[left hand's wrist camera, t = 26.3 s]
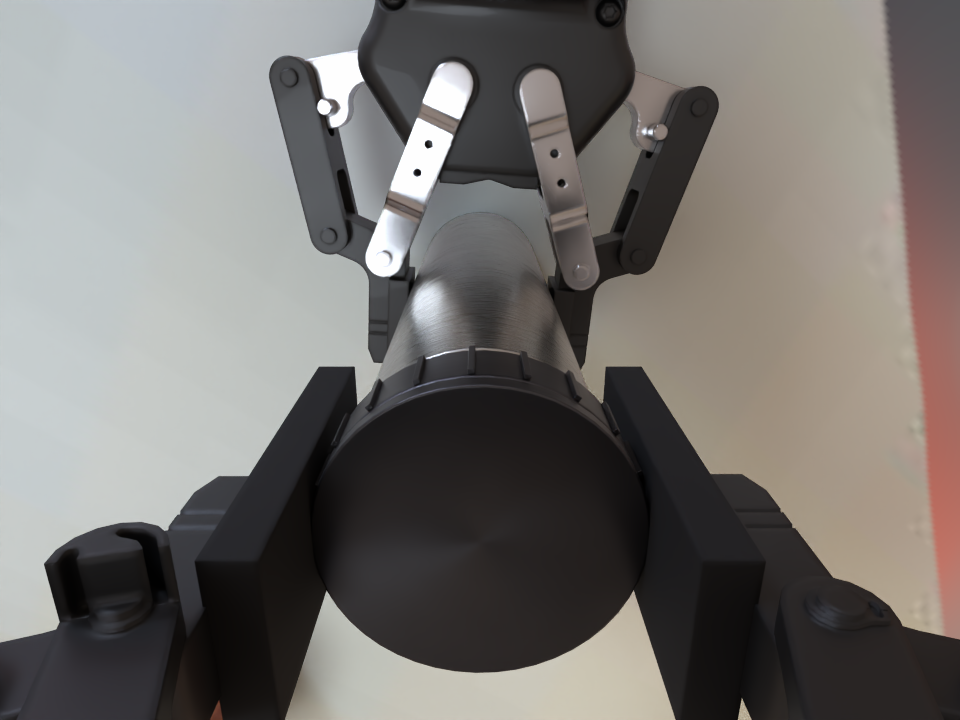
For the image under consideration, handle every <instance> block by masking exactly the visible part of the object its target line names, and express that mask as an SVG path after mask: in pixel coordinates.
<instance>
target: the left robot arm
mask: <svg viewBox="0 0 960 720" xmlns="http://www.w3.org/2000/svg"><path fill="white" fill-rule="evenodd" d="M605 401H606V403H607V404H608V405H609V407H610V410H611V412H612V414H613V416H614V419H615V421H616V423H617V425H618V428H619V430H620V432H621V433H620V435H621V437H622V439H623V442H624V441H627V440H628V441H629V444H630V446H631V448H632V450H633V452H634V455H635V457H636V459H637V461H638V463H639V466H640V468H641V470H642V473H643V476H642V477H639V478H640V481H641V483H642V485H643V488H644V491H645V495H646V499H647V503H648V507H649V518H650V528H649V538H648V548H647V556H646V561H645V565H644V568H643V570H642V573H641V575H640V578H639V581H638V583H637V585H636V586H635V588H634V592H635V595H636V598H637V601H638V604H639V608H640V611H641V614H642V617H643V620H644V623H645V626H646V629H647V632H648V635H649V638H650V642H651V645H652V648H653V651H654V654H655V657H656V660H657V663H658V666H659V669H660V672H661V676H662V679H663V682H664V685H665V688H666V691H667V694H668V697H669V700H670V703H671V707H672V710H673V713H674V716H675V719H676V720H738V715H739V710H740V704H741V699H743V701H744V703H745V706H746V708H747V710H748V712H749V715H750V717H751V719H752V720H960V640H959V639H954V638H950V637H945V636H940V635H936V634H931V633H927V632H922V631H918V630H914V629H911V628H907V627H904V626H902V624H901V621H900V620H899V619H898V617H897V616H896V615H895V613H894V612H893V610H892V609H891V608H890V606H889V605H887V604H886V603H885V602H883V601H882V600H881V599H879V598H878V597H877V596H875V595H874V594H873V593H871V592H869V591H867V590H865V589H863V588H861V587H859V586H857V585H855V584H853V583H850V582H847V581H843V580H839V579H835V578H833V577H832V576H831V574H830V573H829V572H828V570H827V569H826V568H825V567H824V565H823V564H822V563H821V561H820V560H819V559H818V557H817V556H816V555H815V553H814V552H813V551H812V550H811V548H810V547H809V546H808V544H807V543H806V542H805V540H804V539H803V538H802V536H801V535H800V534H799V532H798V531H797V530H796V529H795V528H792V523H791V522H790V521H789V519H788V518H787V517H786V515H785V514H784V513H783V512H781V511H780V508H779V506H778V505H777V504H776V502H775V501H774V500H773V498H772V497H771V496H770V495H769V493H768V492H767V491H766V490H765V489H764V488H762V487H761V486H759V485H758V484H756V483H755V482H753V481H751V480H750V479H748V478H747V477H745V476H744V475H742V474H710V473H709V471H708V470H707V468H706V467H705V465H704V464H703V462H702V460H701V459H700V457H699V456H698V454H697V453H696V451H695V450H694V448H693V446H692V445H691V443H690V442H689V440H688V439H687V437H686V436H685V434H684V432H683V431H682V429H681V428H680V426H679V425H678V423H677V421H676V420H675V418H674V417H673V415H672V414H671V412H670V411H669V409H668V407H667V406H666V404H665V403H664V401H663V400H662V398H661V397H660V395H659V393H658V392H657V390H656V389H655V387H654V386H653V384H652V383H651V381H650V379H649V378H648V376H647V375H646V373H645V372H644V370H643V368H642V367H606V371H605V385H604V400H603V402H605ZM356 407H357V394H356V379H355V367H319V368H318V369H317V371H316V372H315V374H314V375H313V377H312V378H311V380H310V382H309V383H308V385H307V386H306V388H305V389H304V391H303V393H302V394H301V396H300V397H299V399H298V400H297V402H296V403H295V405H294V407H293V408H292V410H291V411H290V413H289V414H288V416H287V417H286V419H285V421H284V422H283V424H282V425H281V427H280V428H279V430H278V431H277V433H276V435H275V436H274V438H273V439H272V441H271V442H270V444H269V446H268V447H267V449H266V450H265V452H264V453H263V455H262V456H261V458H260V460H259V461H258V463H257V464H256V466H255V467H254V469H253V470H252V472H251V474H250V475H249V476H219V477H217V478H216V479H214V480H212V481H211V482H209V483H208V484H206V485H205V486H203V487H202V488H200V489H199V490H197V491H196V492H195V493H194V494H193V495H192V496H191V498H190V499H189V500H188V502H187V503H186V504H185V506H184V507H183V508H182V510H181V511H180V512H181V513H180V515H177V516H176V518H175V519H174V520H173V522H172V523H171V524H170V525H169V530H168V531H164V530H163V529H161V528H160V527H159V526H156V525H152V524H148V523H143V522H133V523H118V524H114V525H110V526H105V527H101V528H97V529H95V530H92V531H90V532H87V533H85V534H83V535H80V536H78V537H75V538H74V539H72V540H71V541H69V542H67V543H66V544H64V545H63V546H61V547H60V548H58V549H57V550H56V551H55V552H54V553H53V554H52V555H51V556H50V558H49V559H48V560H47V561H46V562H45V563H44V566H45V570H46V573H47V577H48V581H49V584H50V588H51V592H52V595H53V599H54V603H55V606H56V610H57V614H58V617H59V621H60V623H59V625H58V627H57V629H56V630H53V631H49V632H46V633H42V634H38V635H33V636H29V637H24V638H19V639H15V640H10V641H6V642H1V643H0V720H210V719H211V717H212V714H213V712H214V710H215V708H216V706H217V703H218V701H219V702H220V707H221V713H222V719H223V720H285V717H286V714H287V711H288V708H289V705H290V702H291V698H292V695H293V692H294V689H295V686H296V683H297V680H298V677H299V674H300V671H301V668H302V664H303V661H304V658H305V655H306V652H307V649H308V646H309V643H310V640H311V637H312V634H313V630H314V627H315V624H316V621H317V618H318V615H319V612H320V609H321V606H322V603H323V600H324V596H325V593H326V588H325V586H324V584H323V581H322V579H321V577H320V575H319V572H318V569H317V566H316V563H315V559H314V553H313V544H312V534H311V512H312V506H313V499H314V496H315V493H316V490H315V483H316V480H317V478H318V476H319V474H320V471H321V469H322V467H323V465H324V462H325V460H326V458H327V456H328V454H329V453H330V454H331V453H332V451H333V449H334V447H332V446H331V444H332V442H333V439H334V437H335V435H336V433H337V430H338V428H339V426H340V424H341V422H342V419H343V417H344V416H345V414H346V413H348V414H350V415H351V414H352V413H353V411H354V410H355V408H356Z"/></svg>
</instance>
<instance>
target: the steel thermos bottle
mask: <svg viewBox="0 0 960 720" xmlns="http://www.w3.org/2000/svg"><path fill="white" fill-rule="evenodd" d="M469 346H475V349H476V350H490V351H501V352H509V353H513V354H518V355H520V352H521V351H525V352H527V354H528V357H530V358H532V359H535V360H538V361H541V362H544V363H547V364H549V365H550V366H552V367H554V368H556V369H558V370H560V371H562V372H564V373H566V372H567V371H568V370H570V371H571V372H573V374H574V376H575V379H576V381H578V382H579V383H580V384H582V385H583V386H584V387H585V388H586V389H587V390H588V388H587V386H586V383H585V380H584V378H583V375H582V373H581V370H580V368H579V365H578V363H577V360H576V358H575V355H574V353H573V350H572V348H571V345H570V342H569V340H568V337H567V335H566V332H565V330H564V327H563V325H562V322H561V320H560V317H559V315H558V312H557V309H556V307H555V304H554V302H553V299H552V297H551V294H550V292H549V289H548V287H547V284H546V282H545V279H544V277H543V274H542V271H541V269H540V266H539V264H538V261H537V259H536V256H535V254H534V251H533V249H532V246H531V244H530V242H529V240H528V239H527V237H526V235H525V234H524V233H523V232H522V231H521V229H520V228H519V227H517V226H516V225H515V224H514V223H512V222H511V221H510V220H508V219H506V218H504V217H502V216H499V215H496V214H492V213H485V212H475V213H468V214H464V215H461V216H458V217H456V218H454V219H452V220H451V221H449V222H448V223H446V224H445V225H444V226H443V227H442V228H441V229H440V230H439V231H438V232H437V233H436V234H435V236H434V237H433V239H432V240H431V242H430V245H429V247H428V249H427V252H426V254H425V257H424V259H423V262H422V264H421V267H420V269H419V272H418V275H417V277H416V280H415V282H414V285H413V287H412V290H411V292H410V295H409V297H408V300H407V302H406V305H405V308H404V310H403V313H402V315H401V318H400V320H399V323H398V325H397V328H396V330H395V333H394V335H393V338H392V341H391V343H390V346H389V348H388V351H387V353H386V356H385V358H384V361H383V363H382V366H381V369H380V371H379V374H378V376H377V379H376V380H378V379H380V380H381V381H382V382H383V381H384V380H385V379H387V378H388V377H390V376H392V375H393V374H395V373H397V372H398V371H400V370H402V369H403V368H405V367H408V366H410V365H412V364H415V363H417V360H418V357H420V356H423V355H424V356H425V359H428V358H431V357H435V356H438V355H442V354H447V353H453V352H459V351H469Z"/></svg>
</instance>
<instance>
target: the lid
mask: <svg viewBox="0 0 960 720" xmlns="http://www.w3.org/2000/svg"><path fill="white" fill-rule="evenodd" d="M620 433H621V432H620V430H619V428H618V425H617V423H616V421H615V419H614V416H613V414H612V412H611V410H610V407H609V405H608V404H607V403H606V401H605V402H603V403H602V404H601V403H600V402H599V401H598V399H597V398H596V397H595V396H594V395H593V394H592V393H590V392H589V391H588V390H587V389H586V388H585V387H584V386H583V385H582V384H580V383H579V382H578V381H576V379H575V376H574V374H573V372H571V371H570V370H568V371H567V372H566V373H564V372H562V371H560V370H558V369H556V368H554V367H552V366H550V365H549V364H547V363H544V362H541V361H538V360H535V359H532V358H530V357H528V354H527V352H525V351H521V352H520V355H518V354H513V353H509V352H501V351H490V350H476V349H475V346H469V351H459V352H453V353H447V354H442V355H438V356H435V357H431V358H428V359H425V356H424V355H423V356H420V357H418V360H417V363H415V364H412V365H410V366H408V367H405V368H403V369H402V370H400V371H398V372H397V373H395V374H393V375H392V376H390V377H388V378H387V379H385V380H384V381H383V382H382V381H381V380H380V379H378V380H376V381H375V383H374V385H373V388H372V390H371V392H370V393H369V394H368V395H367V396H366V397H365V398H364V399H363V400H362V401H361V402H360V403H359V404H358V406H357V407H356V408H355V410H354V411H353V413H352V414H351V415H350V414H348V413H346V414H345V416H344V417H343V419H342V422H341V424H340V426H339V428H338V430H337V433H336V435H335V437H334V439H333V442H332V444H331V446H332V447H334V449H333V451H332V453H331V454H330V453H329V454H328V456H327V458H326V460H325V462H324V465H323V467H322V469H321V471H320V474H319V476H318V478H317V480H316V483H315V490H316V493H315V496H314V499H313V506H312V512H311V534H312V544H313V553H314V559H315V563H316V566H317V569H318V572H319V575H320V577H321V579H322V581H323V584H324V586H325V588H326V590H327V592H328V593H329V595H330V596H331V598H332V599H333V601H334V602H335V604H336V605H337V607H338V608H339V609H340V610H341V611H342V613H343V614H344V615H345V616H346V617H347V618H348V620H349V621H350V622H351V623H353V624H354V625H355V626H356V627H357V628H358V629H359V630H360V631H361V632H363V633H364V634H365V635H366V636H368V637H369V638H371V639H372V640H374V641H375V642H376V643H378V644H379V645H381V646H383V647H385V648H386V649H388V650H390V651H392V652H394V653H396V654H397V655H400V656H402V657H405V658H407V659H410V660H412V661H415V662H417V663H421V664H424V665H428V666H431V667H435V668H440V669H446V670H451V671H459V672H473V673H483V672H501V671H509V670H516V669H520V668H525V667H529V666H533V665H537V664H540V663H542V662H545V661H548V660H551V659H554V658H556V657H558V656H560V655H562V654H564V653H567V652H569V651H571V650H573V649H574V648H576V647H578V646H579V645H581V644H582V643H584V642H586V641H587V640H589V639H590V638H591V637H593V636H594V635H595V634H596V633H598V632H599V631H600V630H601V629H603V628H604V627H605V626H606V625H607V624H608V623H609V622H610V621H611V620H612V619H613V618H614V617H615V616H616V615H617V614H618V612H619V611H620V610H621V608H622V607H623V606H624V604H625V603H626V602H627V600H628V599H629V597H630V595H631V594H632V592H633V590H634V588H635V586H636V585H637V583H638V581H639V578H640V575H641V573H642V570H643V568H644V565H645V561H646V556H647V548H648V538H649V528H650V518H649V507H648V503H647V499H646V495H645V491H644V488H643V485H642V483H641V481H640V478H639V477H642V476H643V473H642V470H641V468H640V466H639V463H638V461H637V459H636V457H635V455H634V452H633V450H632V448H631V446H630V444H629V441H628V440H627V441H624V442H623V439H622V437H621V435H620Z"/></svg>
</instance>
